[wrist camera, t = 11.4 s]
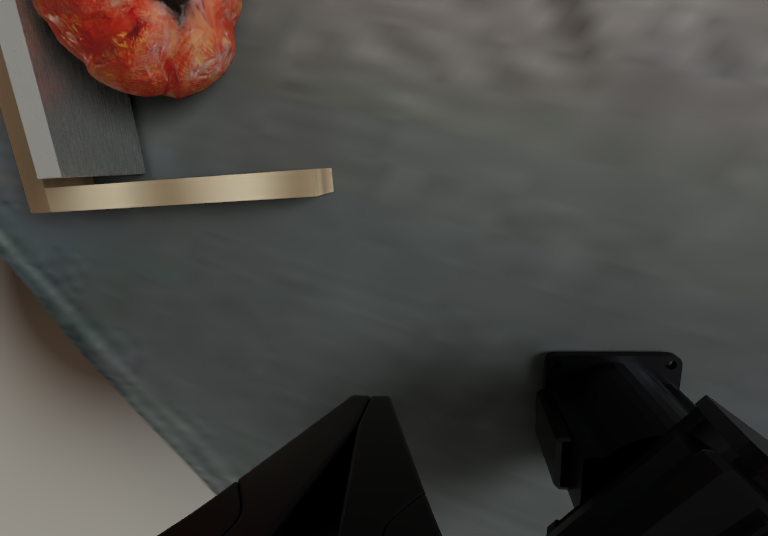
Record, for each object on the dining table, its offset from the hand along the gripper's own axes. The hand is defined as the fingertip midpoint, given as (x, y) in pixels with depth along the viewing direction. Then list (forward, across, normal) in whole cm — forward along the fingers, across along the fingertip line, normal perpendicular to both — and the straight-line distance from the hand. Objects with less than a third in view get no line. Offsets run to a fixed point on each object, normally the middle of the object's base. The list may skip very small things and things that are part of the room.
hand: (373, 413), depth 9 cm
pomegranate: (+13, +11, -12) cm, 21 cm away
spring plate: (+13, +15, -11) cm, 23 cm away
